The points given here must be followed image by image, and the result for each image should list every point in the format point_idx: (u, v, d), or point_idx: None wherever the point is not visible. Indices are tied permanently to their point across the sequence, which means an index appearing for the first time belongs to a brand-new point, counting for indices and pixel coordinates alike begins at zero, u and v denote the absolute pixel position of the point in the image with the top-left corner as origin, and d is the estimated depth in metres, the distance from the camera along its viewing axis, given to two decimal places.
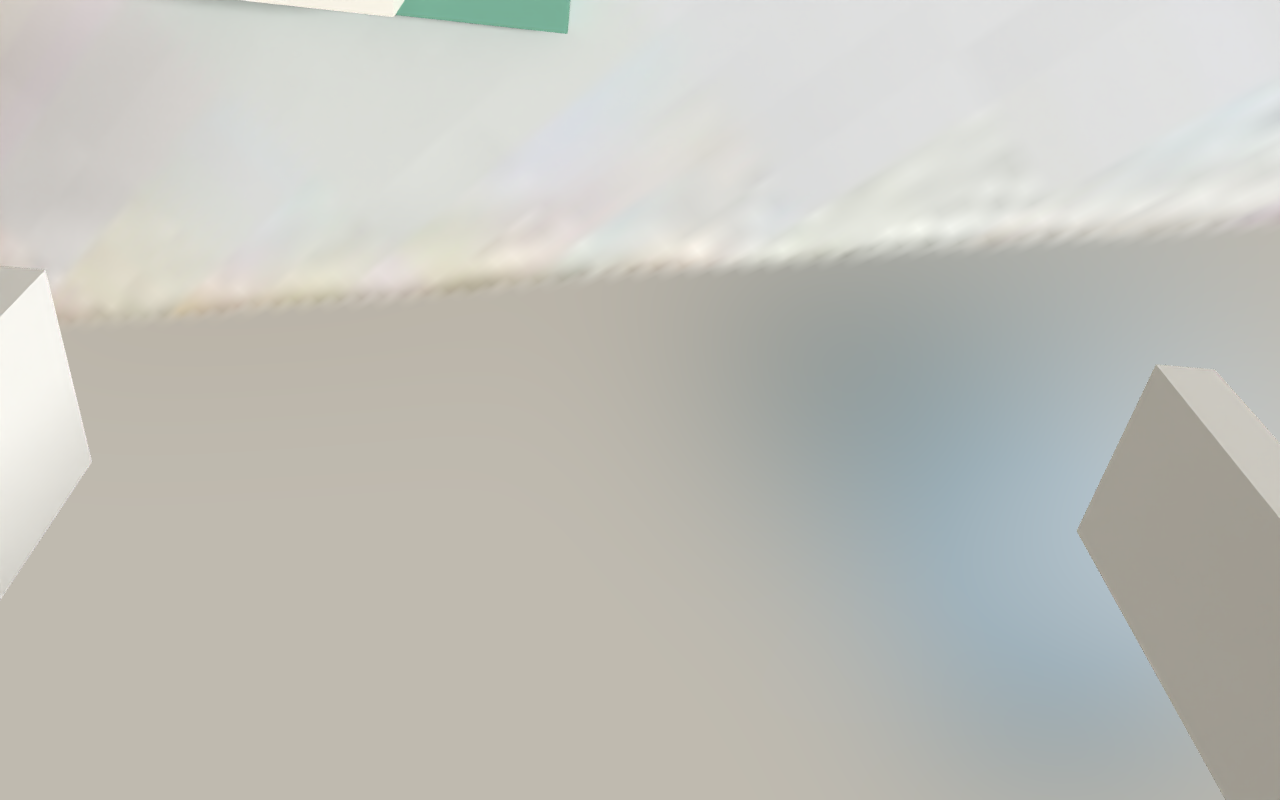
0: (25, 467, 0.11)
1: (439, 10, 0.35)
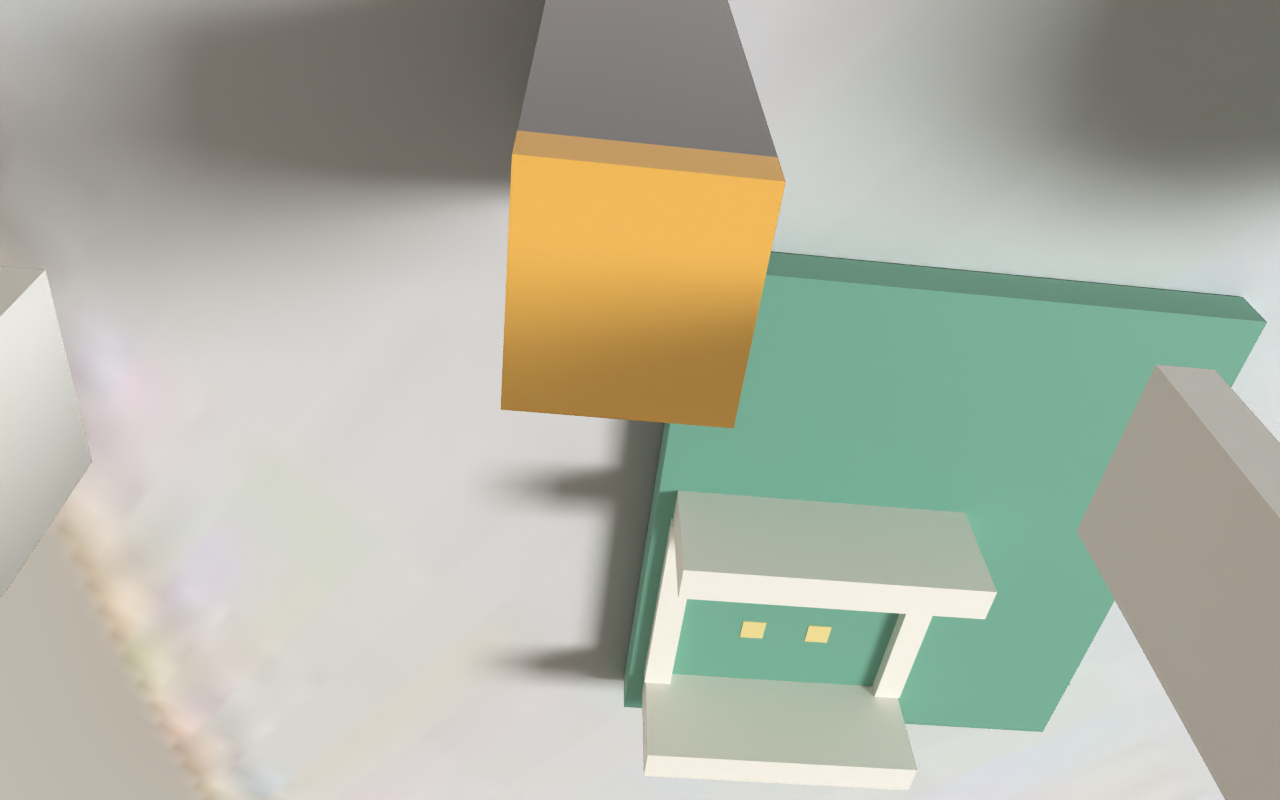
0: (25, 467, 0.11)
1: (914, 718, 0.34)
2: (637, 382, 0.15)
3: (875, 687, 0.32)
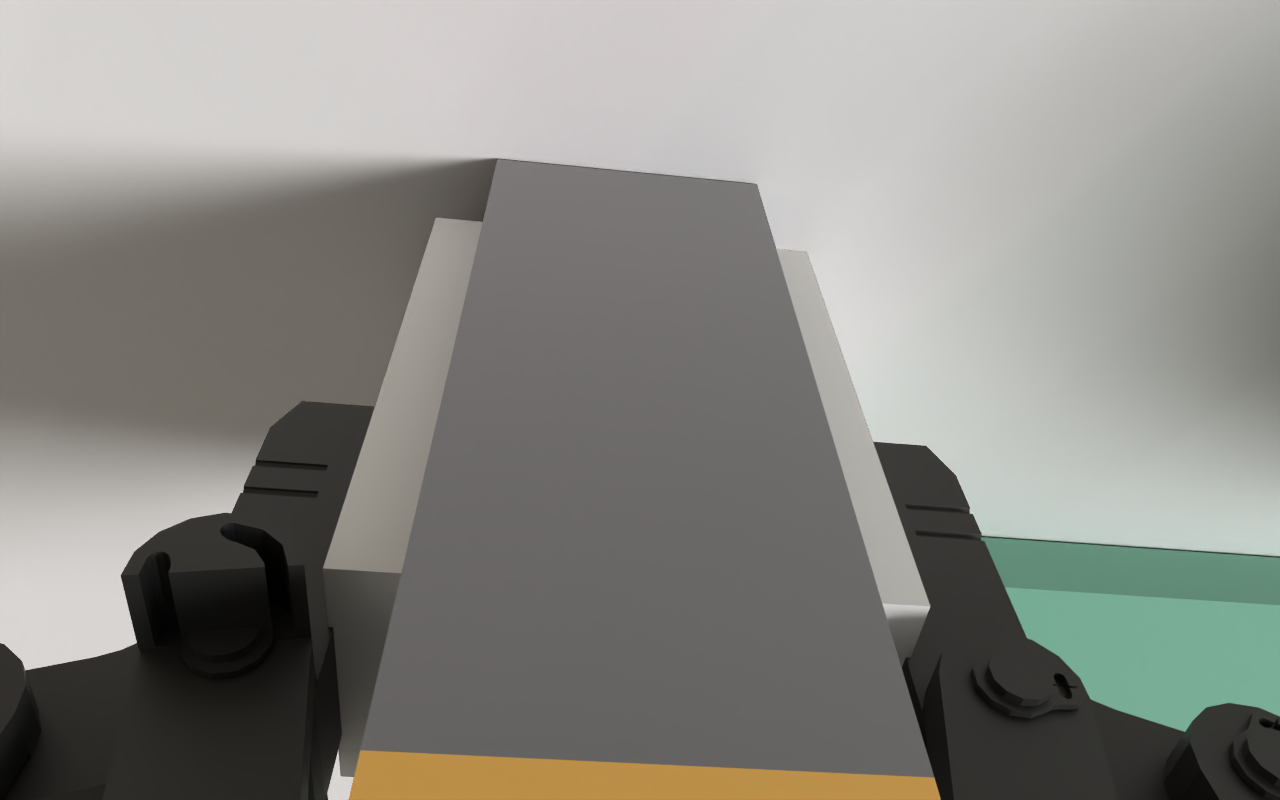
0: None
1: None
2: None
3: None
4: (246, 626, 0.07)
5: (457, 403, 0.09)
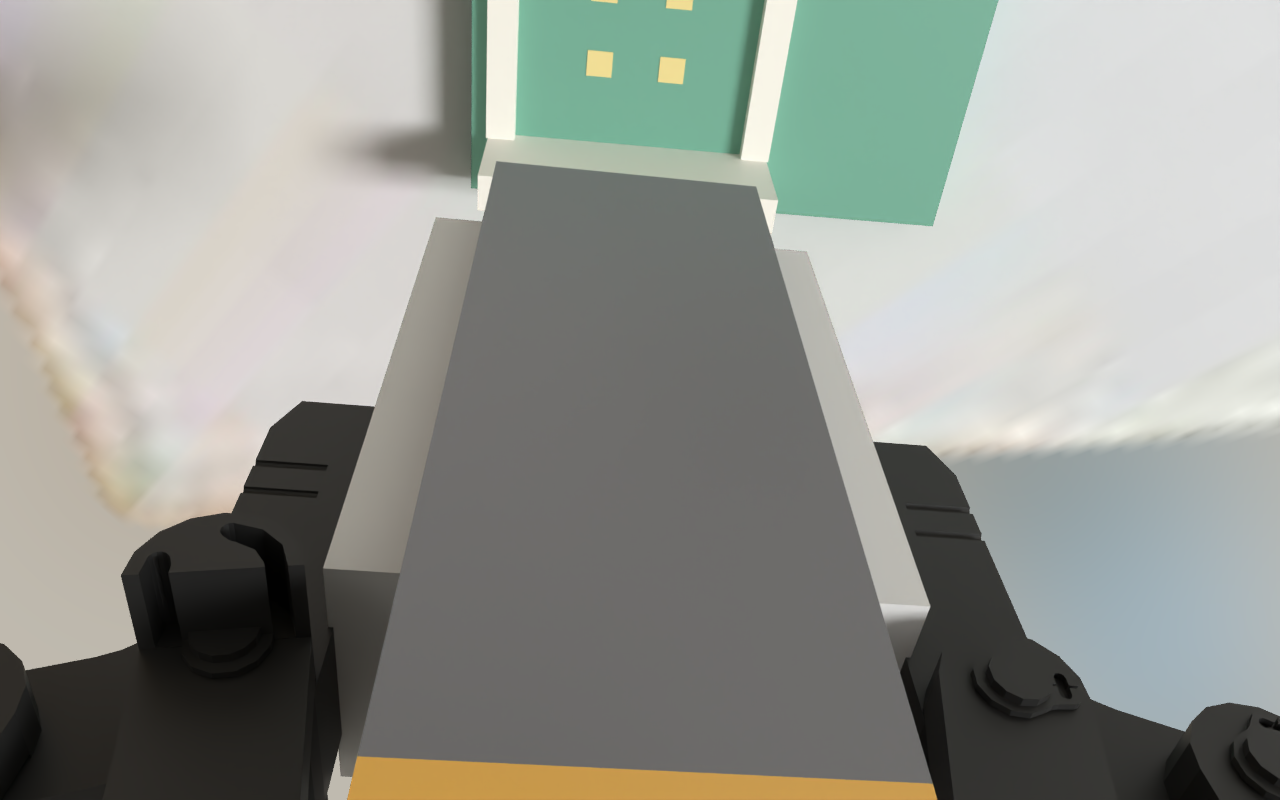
0: None
1: (791, 204, 0.31)
2: None
3: (741, 150, 0.30)
4: (246, 626, 0.07)
5: (455, 407, 0.09)
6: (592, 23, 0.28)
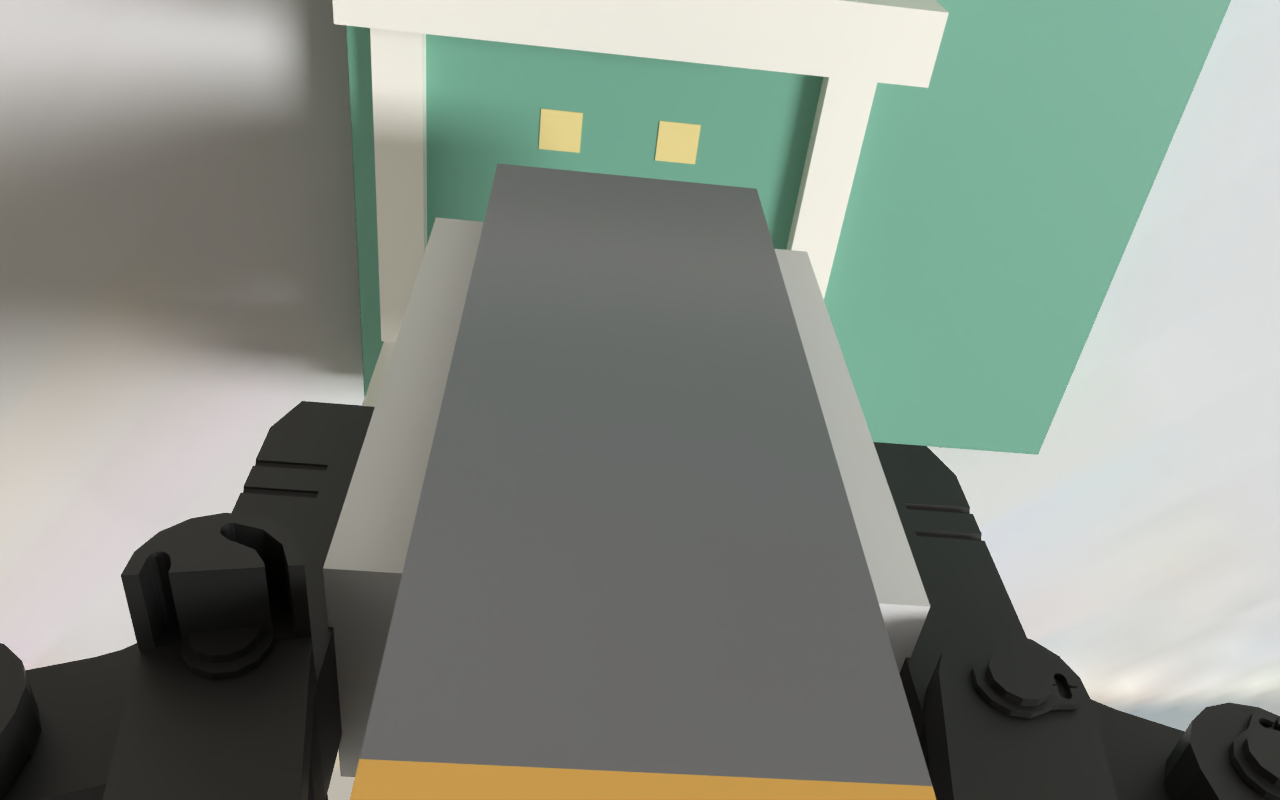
0: None
1: None
2: None
3: None
4: (246, 626, 0.07)
5: (456, 409, 0.09)
6: None
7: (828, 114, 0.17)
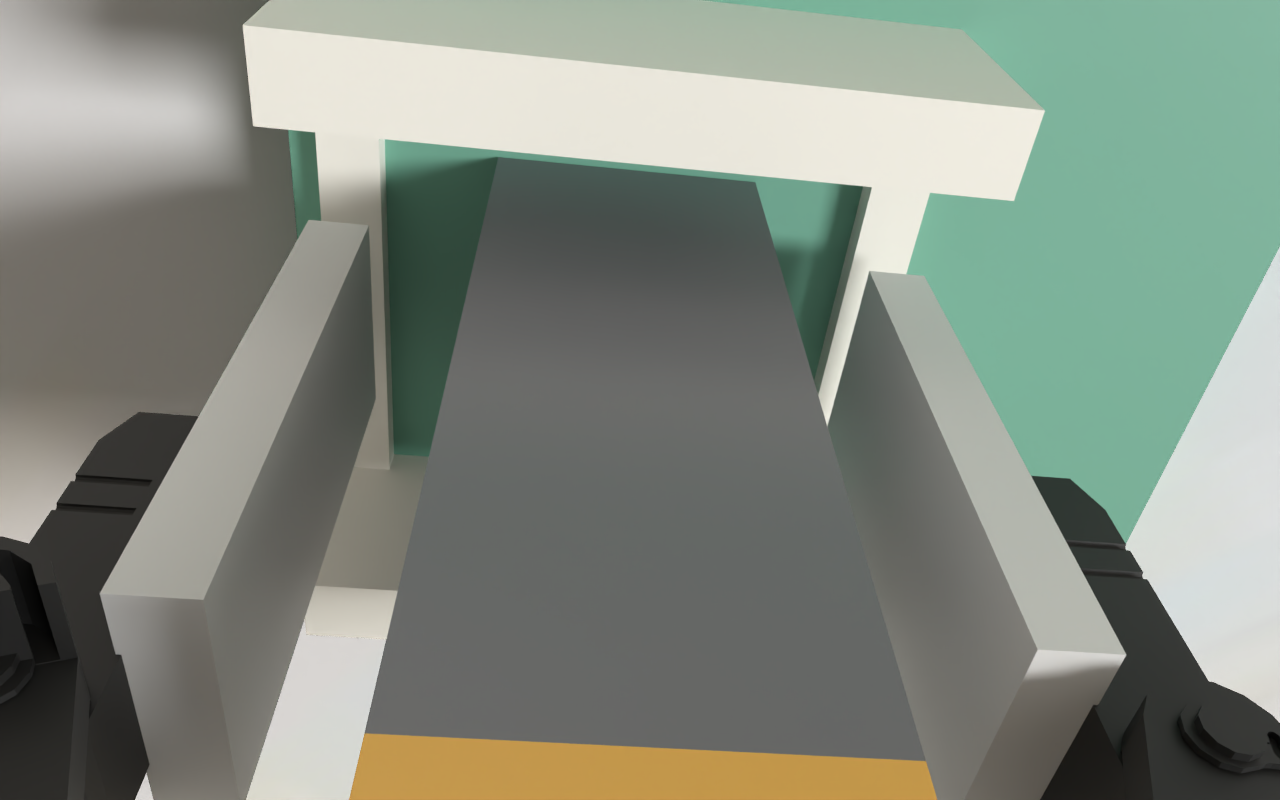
0: (353, 395, 0.13)
1: None
2: None
3: None
4: (0, 654, 0.07)
5: (459, 397, 0.09)
6: None
7: (874, 210, 0.14)
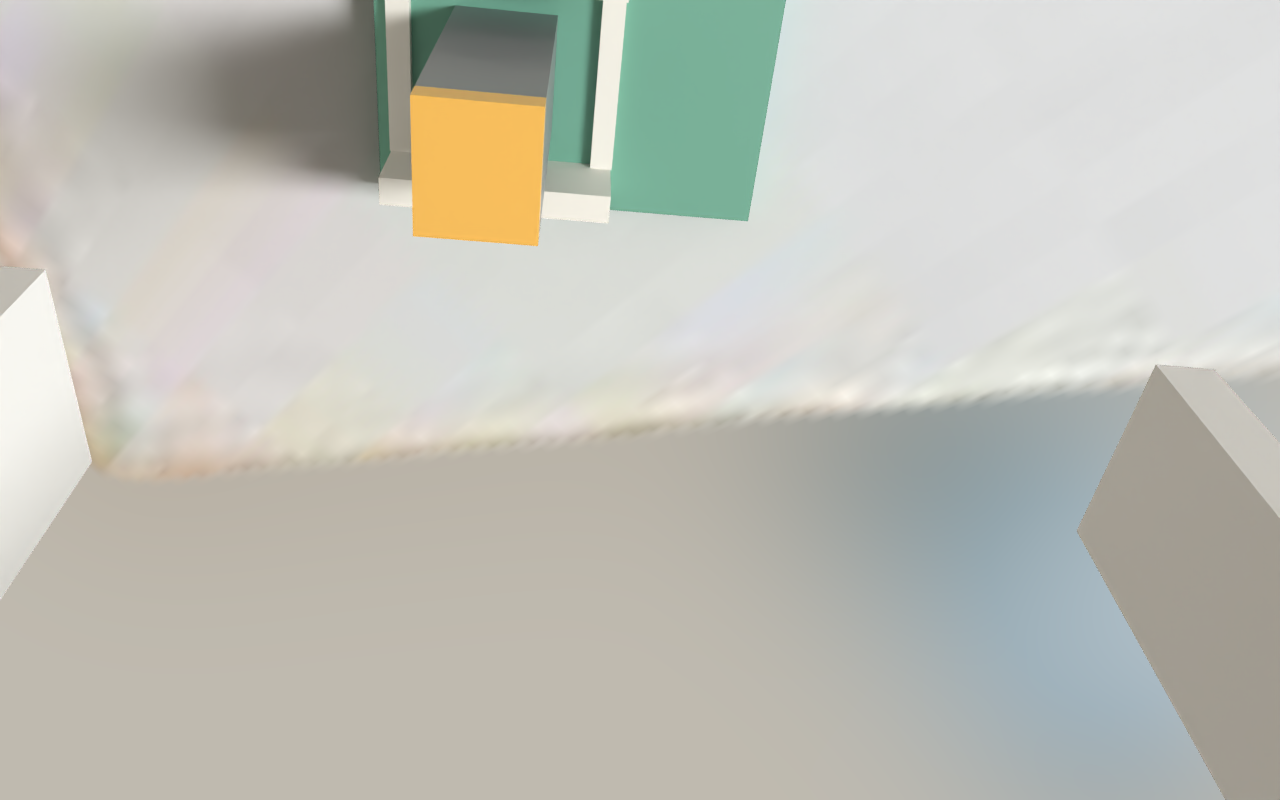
0: (25, 467, 0.11)
1: (634, 204, 0.39)
2: (483, 218, 0.29)
3: (590, 160, 0.38)
4: None
5: (437, 49, 0.30)
6: None
7: (604, 25, 0.35)
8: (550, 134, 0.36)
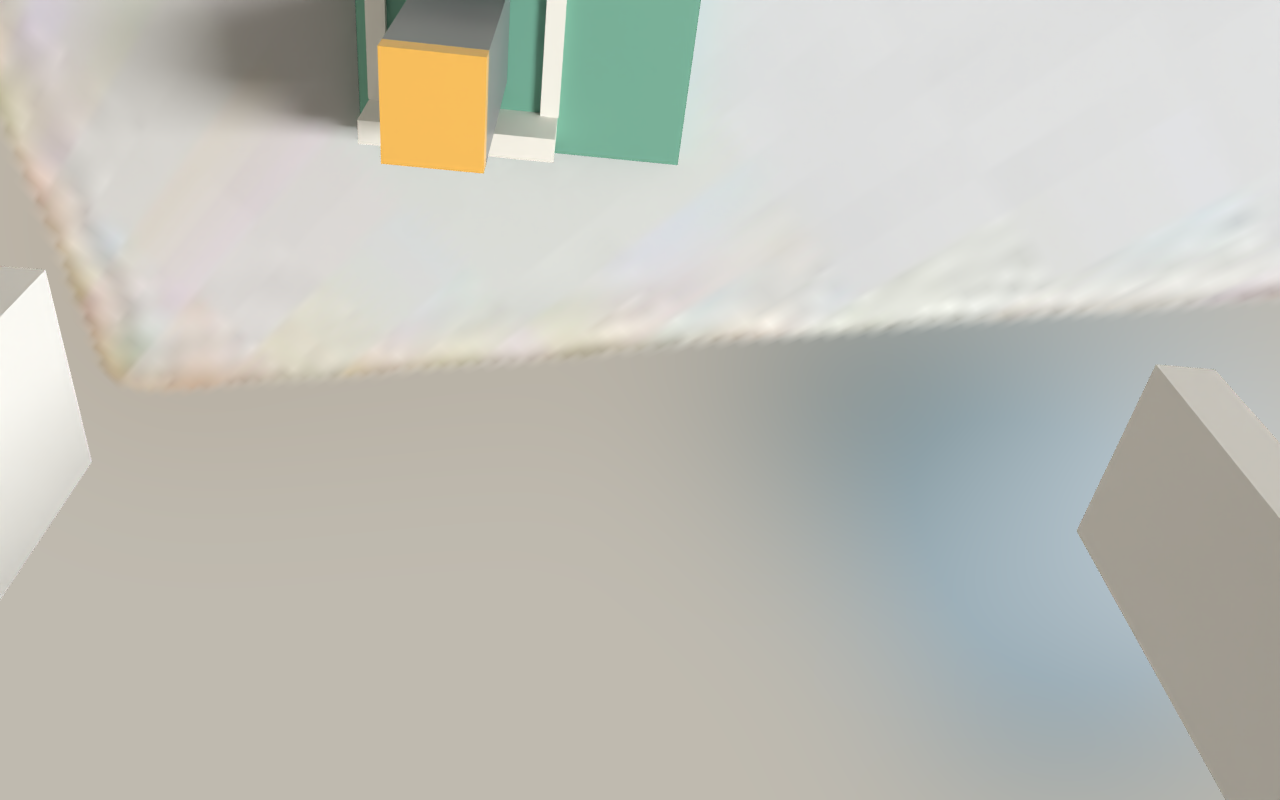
0: (25, 467, 0.11)
1: (579, 148, 0.46)
2: (438, 149, 0.35)
3: None
4: None
5: (404, 10, 0.37)
6: None
7: None
8: (504, 85, 0.42)
